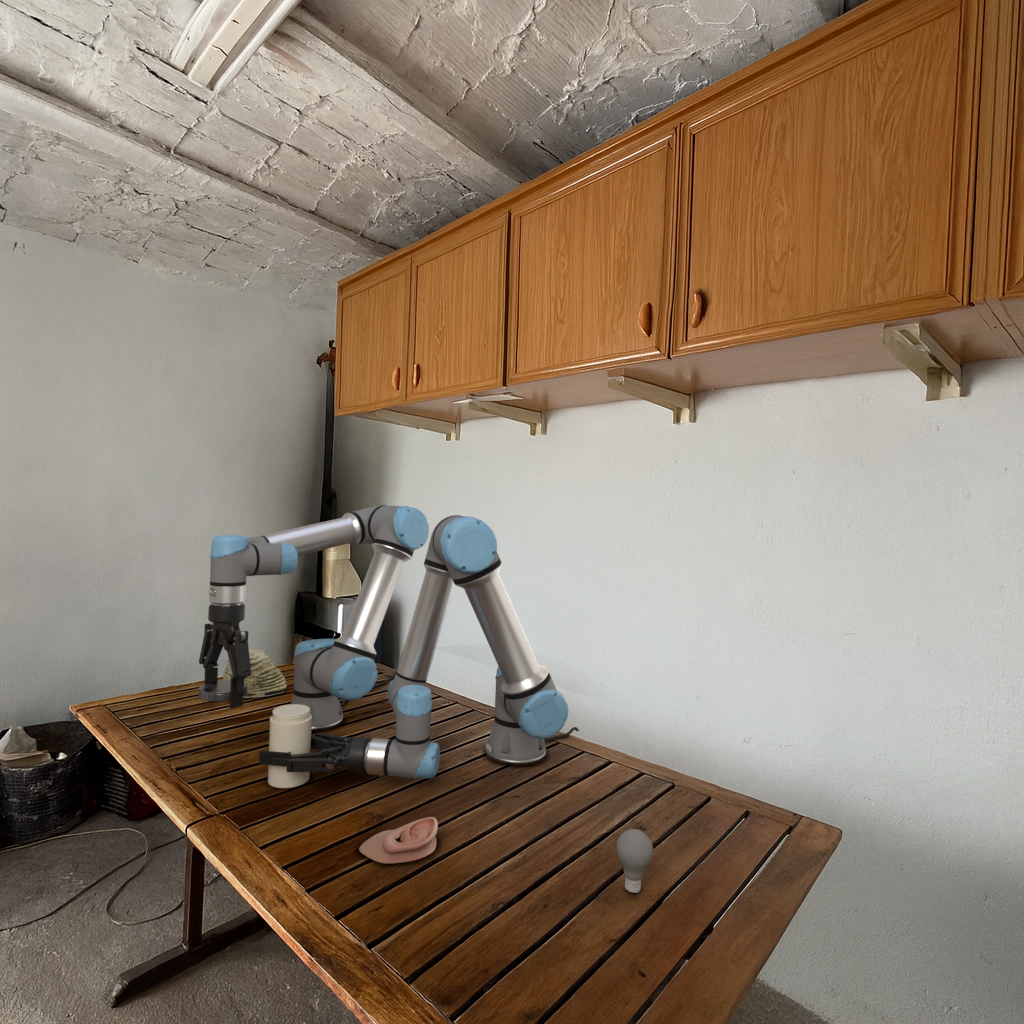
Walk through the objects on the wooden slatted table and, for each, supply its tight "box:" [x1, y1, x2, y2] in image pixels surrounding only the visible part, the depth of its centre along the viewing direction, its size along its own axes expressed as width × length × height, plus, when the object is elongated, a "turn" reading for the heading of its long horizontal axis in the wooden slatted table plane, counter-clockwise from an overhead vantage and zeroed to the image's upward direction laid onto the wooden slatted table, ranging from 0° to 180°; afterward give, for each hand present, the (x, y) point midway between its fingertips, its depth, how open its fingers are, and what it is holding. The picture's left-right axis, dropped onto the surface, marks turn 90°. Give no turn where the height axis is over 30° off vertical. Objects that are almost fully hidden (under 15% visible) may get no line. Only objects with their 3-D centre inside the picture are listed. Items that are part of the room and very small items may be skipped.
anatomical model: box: [358, 816, 439, 864], centre depth 116 cm, size 13×4×12 cm
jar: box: [267, 703, 312, 789], centre depth 141 cm, size 9×9×16 cm
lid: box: [198, 679, 247, 702], centre depth 143 cm, size 10×10×2 cm
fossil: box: [222, 647, 288, 699], centre depth 198 cm, size 9×18×15 cm, turn 132°
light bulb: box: [615, 828, 654, 894], centre depth 106 cm, size 6×6×10 cm
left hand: (222, 701), depth 143 cm, fingers closed on lid, 10 cm apart
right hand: (270, 748), depth 142 cm, fingers closed on jar, 9 cm apart
